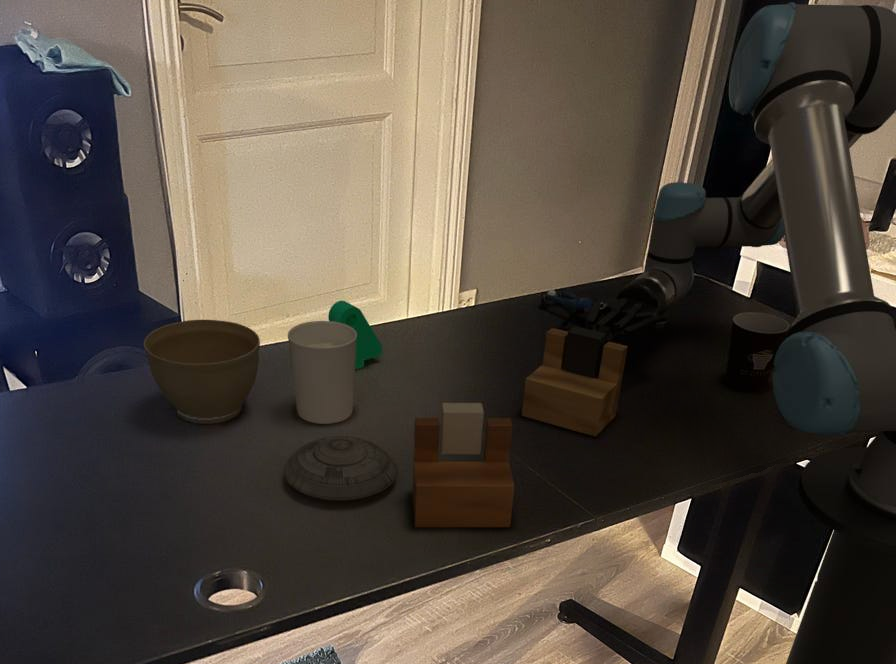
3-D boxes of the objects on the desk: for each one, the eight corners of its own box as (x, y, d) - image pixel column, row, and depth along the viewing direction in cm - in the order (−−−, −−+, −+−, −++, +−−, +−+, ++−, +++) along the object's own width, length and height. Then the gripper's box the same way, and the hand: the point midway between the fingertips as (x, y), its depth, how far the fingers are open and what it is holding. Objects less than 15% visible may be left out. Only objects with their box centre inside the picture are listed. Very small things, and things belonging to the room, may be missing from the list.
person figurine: (525, 318, 180) (587, 338, 167) (525, 293, 178) (588, 311, 165) (571, 308, 185) (635, 327, 172) (572, 283, 182) (637, 300, 169)
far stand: (543, 396, 151) (551, 327, 144) (615, 416, 147) (628, 346, 140) (521, 416, 146) (528, 345, 139) (595, 436, 141) (607, 365, 134)
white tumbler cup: (332, 433, 140) (330, 353, 132) (278, 415, 144) (273, 336, 136) (370, 408, 146) (370, 330, 139) (318, 391, 150) (315, 315, 143)
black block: (569, 363, 146) (575, 325, 142) (600, 371, 144) (606, 333, 140) (562, 369, 144) (567, 331, 141) (593, 377, 142) (599, 339, 139)
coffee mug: (714, 388, 155) (729, 327, 149) (722, 368, 161) (736, 308, 155) (789, 402, 152) (807, 340, 146) (794, 381, 158) (812, 321, 152)
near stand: (412, 494, 127) (414, 417, 120) (503, 494, 128) (510, 418, 121) (415, 527, 121) (417, 448, 114) (510, 527, 122) (518, 449, 115)
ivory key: (440, 444, 125) (442, 402, 122) (478, 444, 125) (481, 402, 122) (441, 454, 123) (443, 412, 119) (480, 454, 123) (483, 412, 120)
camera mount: (355, 346, 164) (355, 285, 158) (382, 361, 159) (382, 299, 153) (295, 362, 158) (292, 299, 152) (321, 379, 154) (318, 315, 147)
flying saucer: (359, 521, 122) (358, 483, 118) (262, 488, 127) (258, 451, 124) (417, 471, 132) (418, 434, 129) (325, 442, 137) (324, 407, 134)
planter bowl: (234, 444, 136) (226, 371, 129) (133, 424, 140) (121, 352, 133) (282, 397, 148) (278, 328, 141) (188, 380, 152) (179, 312, 145)
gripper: (677, 332, 159) (625, 383, 144) (603, 314, 164) (545, 363, 148) (687, 286, 155) (634, 334, 139) (610, 270, 159) (551, 314, 144)
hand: (588, 349), depth 144 cm, fingers closed
